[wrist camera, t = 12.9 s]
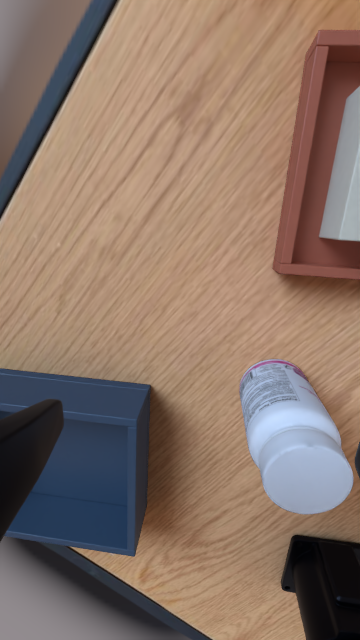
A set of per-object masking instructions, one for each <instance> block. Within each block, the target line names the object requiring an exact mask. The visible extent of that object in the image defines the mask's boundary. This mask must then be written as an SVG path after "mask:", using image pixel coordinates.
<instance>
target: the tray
mask: <svg viewBox="0 0 360 640" xmlns="http://www.w3.org/2000/svg"><path fill="white" fill-rule="evenodd" d="M359 86H360V30H319V31H318V33H317V35H316V37H315V39H314V40H313V42H312V44H311V46H310V48H309V49H308V51H307V53H306V58H305V64H304V71H303V77H302V84H301V90H300V96H299V103H298V109H297V115H296V122H295V128H294V135H293V141H292V147H291V154H290V160H289V167H288V173H287V179H286V186H285V192H284V199H283V205H282V211H281V218H280V224H279V231H278V237H277V243H276V250H275V256H274V263H273V269H274V270H275V271H277V272H278V273H279V274H289V275H302V276H315V277H329V278H342V279H356V280H360V241H345V240H334V239H327V238H320V237H319V234H320V229H321V224H322V219H323V214H324V209H325V204H326V199H327V194H328V189H329V183H330V178H331V173H332V168H333V163H334V158H335V153H336V148H337V143H338V138H339V133H340V128H341V123H342V118H343V113H344V108H345V103H346V99H347V98H348V97H349V96H350V95H351V94H352V93H353V92H354V91H355V90H356V89H357V88H358V87H359Z"/></svg>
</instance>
